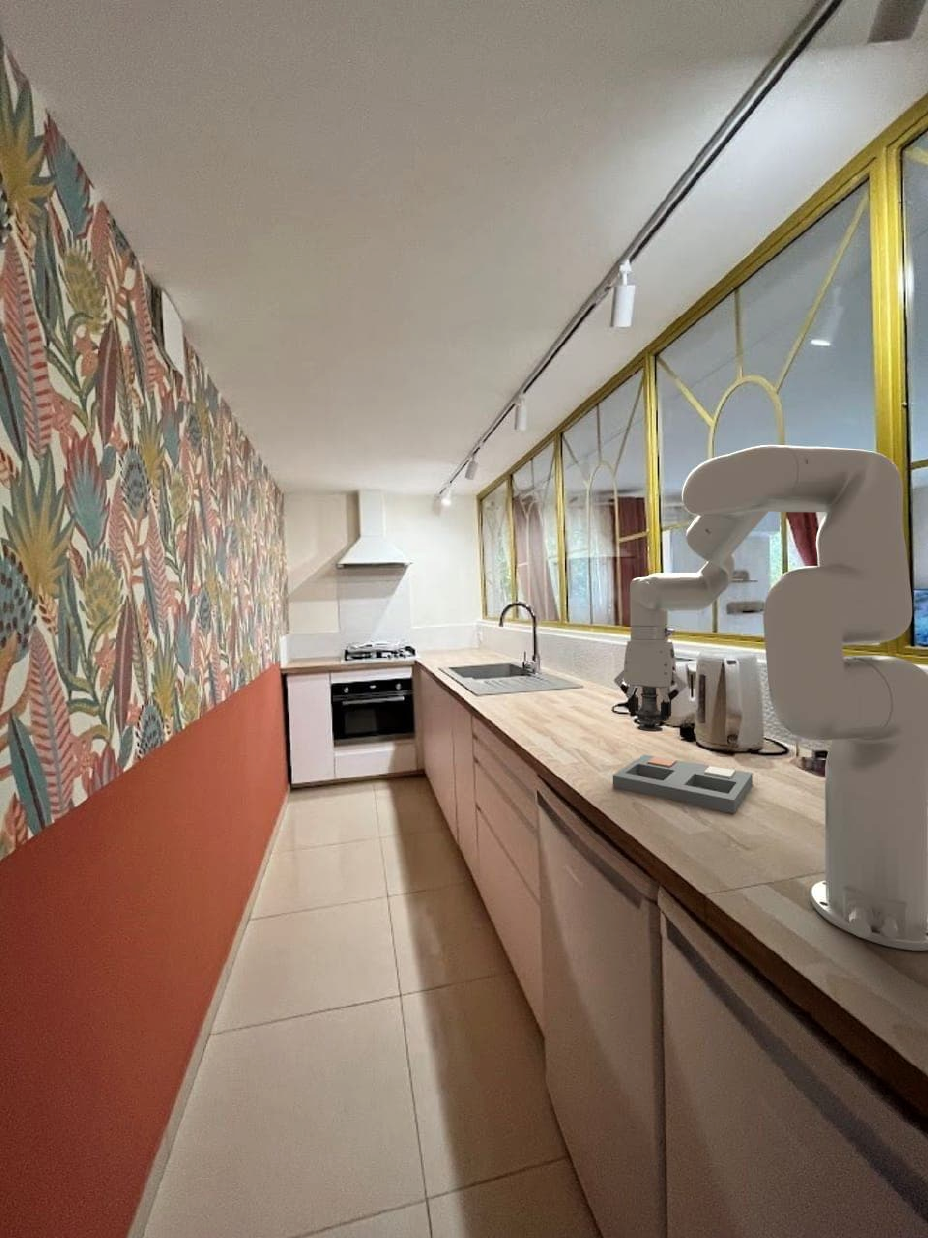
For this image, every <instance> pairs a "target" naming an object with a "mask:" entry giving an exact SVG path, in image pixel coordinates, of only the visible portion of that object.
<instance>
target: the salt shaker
mask: <svg viewBox="0 0 928 1238" xmlns="http://www.w3.org/2000/svg"><path fill="white" fill-rule="evenodd" d="M640 696H641V706H640V708H639V710H636V711H635V713H636V714H637V715H636V718H637V720H638V722H640V724H639V725H638V726H636V729H637V730H639V731H642V732H655V733H656V732H657V733H658V732H662V731H663V730H664V729H663V727H661V726H660V725H658V724H660V723H661V722H662V720H661V709H659V708H658V696H659V694H658V693H657V688H650V687H641V693H640ZM641 723H642V724H641Z"/></svg>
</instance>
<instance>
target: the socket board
mask: <svg viewBox="0 0 928 1238" xmlns="http://www.w3.org/2000/svg"><path fill="white" fill-rule="evenodd" d="M753 774H754V773H752V772H748V771H743V770H736V769H730V768H725V767H718V766H714V765H708V764H707V765H706V764H701V763H695V762H690V761H685V760H678V759H672V758H666V757H660V756H655V755H654V756H653V755H648V754H642V755H641V756H640V757H638V758H636V759H635V760H633V761H632V762H631V763H629V764H628V765H626V766H625V767H623V768H621V769H620V770H619V771H617V772H615V773H614V774H612V788H615V789H620V790H626V791H629V792H632V793H639V794H643V795H646V796H651V797H655V798H656V797H657V798H660V799H664V800H665V799H666V800H670V801H675V802H679V803H684V804H687V805H693V806H697V807H702V808H705V809H706V808H707V809H710V810H714V811H720V812H724V813H727V814H731V815H732V814H735V813H736V812H737V810H738V809H739V807H740V806H741V804H742V803H743V800H744V799H745V797H746V796H747V795H748V793H749V791H750V790H751V788H752V786H753V785H754V784H753V782H754V779H753V778H754V776H753Z"/></svg>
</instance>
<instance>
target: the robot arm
mask: <svg viewBox="0 0 928 1238" xmlns="http://www.w3.org/2000/svg"><path fill="white" fill-rule="evenodd" d="M903 484H904V483H903V480H902V476H901V473H900V470H899V469H898V467H897V465H896V464H895V463H894V462H893V461H892V460H891V458H889V457H887V456H885V455H884V454H882V453H879V452H876V451H871V450H865V449H858V448H857V449H856V448H855V449H854V448H844V447H843V448H842V447H841V448H840V447H824V446H803V445H802V446H799V445H786V444H785V445H782V444H780V445H779V444H765V445H757V446H752V447H749V448H748V447H747V448H744V449H742V450H737V451H735V452H731V453H728V454H724V455H720V456H717V457H713V458H710V459H708V460H705V461H703V462H701V463H700V464H698V465H697V466H696V467H695V468H694V469H693V470H692V471H691V472H690V473H689V474H688V476H687V478H686V479H685V482H684V484H683V487H682V492H681V500H682V505H683V507H684V508H685V510H686V511H687V512H688V513H689V514H692V515H693V516H696V517H695V519H694V520H693V522H692V523H691V524H690V526H689V527H688V529H686V533H685V539H686V543H687V545H688V547H689V548H690V549H691V551H693V553H694V554H696V555H697V556H698V557H700V558H701V559H703V561H706V563H705V564H704V565H703V566H702V568H700V570H699V571H698V572H696V573H695V572H694V573H693V572H692V573H691V572H690V573H689V572H687V573H686V572H685V573H684V572H673V573H672V572H671V573H664V572H663V573H653V574H649V575H648V576H641V577H635V578H633V579H632V580H631V581H630V584H629V585H630V586H629V591H630V592H629V596H630V597H629V599H630V600H629V601H630V602H629V604H630V618H629V619H630V624H629V625H630V639H629V640H627V643H626V647H625V654H624V665H623V670H621V672H620V673H619V674H618V675H617V676H616V677H615V678H614V680H613V682H614V683H615V684H616V686H618V687H619V688H620V691H622V692H623V694H624V695H625V696H626V698H627V699H628V700H627V701H628V703H627V704H628V712H629V713H630V715H629V717H630V718H634V717H637V714H636V713H635V711H636V710H639V709H640V708H639V707H640V706H639V697H638V696H637V693H638V692H639V688H642V687H650V688H656V689H659V692H660V694H661V697H662V701H661V702H660V711H661V722H666V721H667V720H669V719H670V718H671V716H672V701H673V700H674V699H675V698H677V697H678V695H679V694H680V693H682V692H684V690H686V689H687V688H688V684H687V682H686V681H684V679H683V678H682V677H681V676H680V675H679V674H678V673H677V666H676V656H675V648H674V643H673V641H672V640H669V638H670V637H671V636H673V637H675V635H676V630H675V629H671V628H670V627H669V626H668V625H669V622H668V620H669V619H668V612H674V611H700V610H704V609H706V608H708V607H710V606H711V605H712V604H714V603H715V602H716V601H717V599H719V598H720V597H721V595H722V594H724V593H725V591H726V590H727V589H728V587H729V586H730V584H731V582H732V580H733V577H734V572H735V559H734V555H733V553H734V552H735V551H736V550H737V549H739V548H738V547H740V545H741V544H742V543H743V542H744V541H745V540H746V539H747V537H748V536H749V535H750V534H751V533H752V531H754V529H756V527H757V525H758V524H759V523H760V522H761V521H762V520H763V519H764V518H765V517H766V515H767V514H768V513H769V512H774V513H775V512H777V513H778V512H781V513H825V515H824V517H823V518H822V520H821V522H820V524H819V527H818V530H817V533H816V537H815V539H816V541H815V548H816V553H817V555H816V556H817V565H815V566H814V565H813V566H812V565H811V566H809V565H808V566H802V567H796V568H793V569H791V570H789V571H787V572H785V573H783V574H782V575H780V576H778V577H777V579H775V580H774V582H773V583H772V585H771V587H770V588H769V590H768V592H767V595H766V598H765V601H764V603H763V611H762V612H763V613H762V616H763V623H762V625H763V635H764V637H763V638H764V646H765V647H764V648H765V657H766V658H765V659H766V669H767V680H768V681H767V682H768V691H769V698H770V703H771V706H772V709H773V712H774V715H775V716H776V718H777V720H778V721H779V722H780V724H781V725H782V726H783V727H784V729H785V730H787V731H788V732H789V733H791V734H793V736H796V737H798V738H800V739H805V740H808V741H831V743H830V746H829V748H828V752H827V756H826V760H825V771H824V773H825V774H824V833H825V834H824V838H825V839H824V843H825V844H824V846H825V848H824V849H825V850H824V851H825V852H824V855H825V856H824V858H825V859H824V864H825V865H824V866H825V867H824V869H825V871H824V875H825V877H824V878H825V879H824V880H821V881H819V882H816V883H815V884H814V885H812V887H811V888H810V892H809V894H810V902H811V904H812V906H813V908H814V909H815V910H816V912H818V914H819V915H821V916H822V917H823V918H824V919H825V920H827V921H828V922H829V923H831V924H833V925H834V926H836V927H838V928H840V929H841V930H842V931H846V932H848V933H849V934H852V935H854V936H855V937H858V938H861V939H863V940H866V941H869V942H871V943H875V944H878V945H881V946H885V947H890V948H894V949H897V950H904V951H905V950H906V951H917V952H925V951H928V674H927V672H926V671H925V670H923V669H922V668H921V667H920V666H918V665H917V664H914V663H912V662H910V661H908V660H907V659H903V658H900V657H894V656H888V655H874V654H873V655H852V656H851V655H848V656H846V655H844V646H857V645H873V644H879V643H880V644H881V643H886V642H890V641H892V640H894V639H897V638H899V637H901V636H902V635H903V634H904V633H905V632H906V631H907V630H908V629H909V627H910V625H911V622H912V618H913V601H912V591H911V582H910V571H909V564H908V563H909V562H908V553H907V547H906V540H905V534H904V533H905V532H904V515H903V513H904V512H903V511H904V510H903V506H904V505H903V504H904V486H903ZM675 685H676V687H675V688H674V689H672V690H671V688H670V687H672V686H675Z"/></svg>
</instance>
